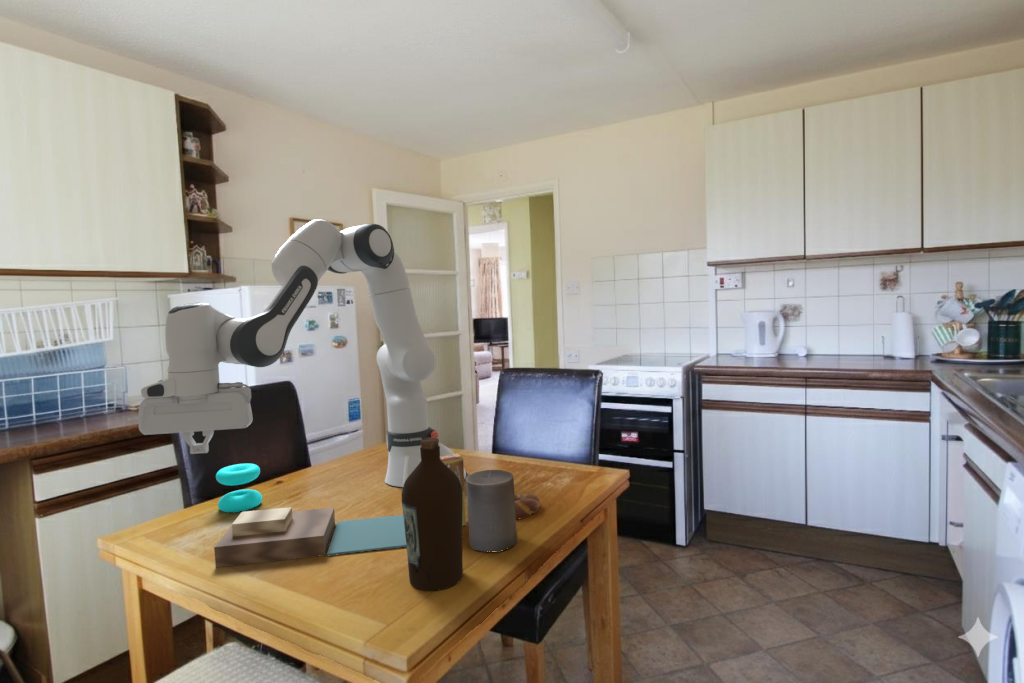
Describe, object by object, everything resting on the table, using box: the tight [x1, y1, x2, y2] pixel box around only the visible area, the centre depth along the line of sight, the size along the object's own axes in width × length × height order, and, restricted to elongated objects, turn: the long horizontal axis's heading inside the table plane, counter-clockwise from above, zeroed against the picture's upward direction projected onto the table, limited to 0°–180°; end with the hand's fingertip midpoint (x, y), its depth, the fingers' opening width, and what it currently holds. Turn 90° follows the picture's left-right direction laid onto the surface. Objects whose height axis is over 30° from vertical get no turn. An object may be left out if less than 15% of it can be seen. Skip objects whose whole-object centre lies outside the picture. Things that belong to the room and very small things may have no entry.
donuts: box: [215, 462, 263, 513], centre depth 141 cm, size 10×10×10 cm
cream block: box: [231, 506, 293, 537], centre depth 117 cm, size 10×7×2 cm
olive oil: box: [401, 437, 464, 591], centre depth 100 cm, size 11×11×25 cm
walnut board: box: [213, 506, 336, 568], centre depth 118 cm, size 20×16×4 cm
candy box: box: [420, 453, 467, 527], centre depth 123 cm, size 9×4×15 cm, turn 116°
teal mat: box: [326, 514, 407, 557], centre depth 121 cm, size 16×17×1 cm
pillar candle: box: [464, 469, 518, 553], centre depth 114 cm, size 10×10×15 cm
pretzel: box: [514, 493, 541, 520], centre depth 132 cm, size 12×11×4 cm
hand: (199, 452), depth 114 cm, fingers closed
